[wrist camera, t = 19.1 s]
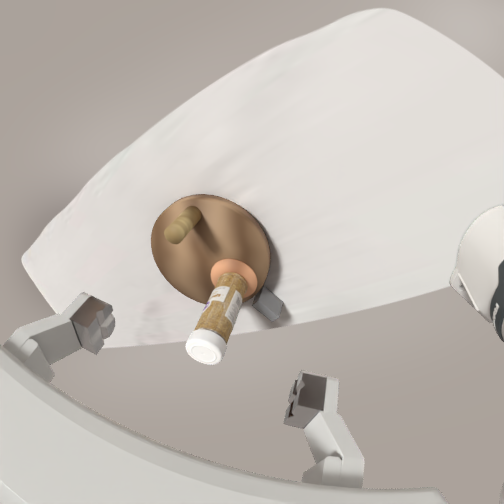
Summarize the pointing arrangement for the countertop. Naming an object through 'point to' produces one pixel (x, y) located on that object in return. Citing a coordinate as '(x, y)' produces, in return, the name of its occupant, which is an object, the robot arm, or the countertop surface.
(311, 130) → the countertop surface
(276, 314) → the grey polygonal block
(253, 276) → the wooden peg stand
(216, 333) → the sprinkles bottle
